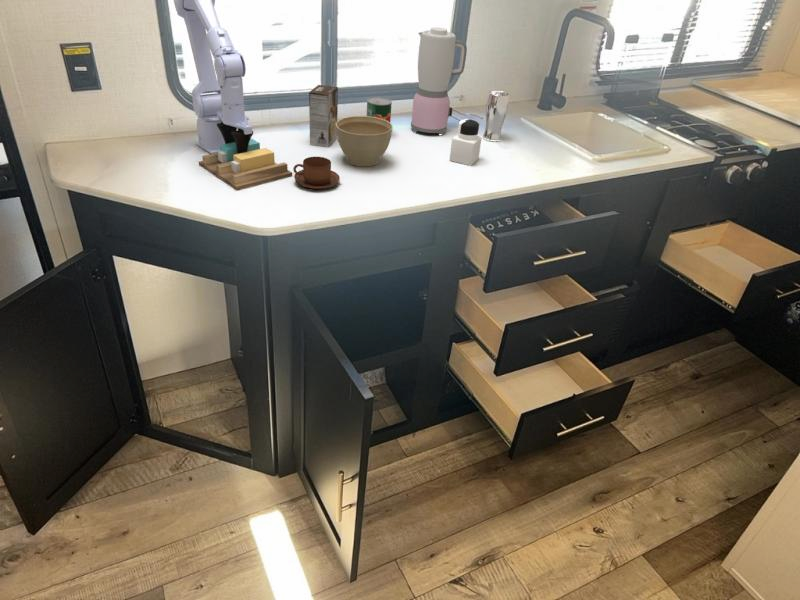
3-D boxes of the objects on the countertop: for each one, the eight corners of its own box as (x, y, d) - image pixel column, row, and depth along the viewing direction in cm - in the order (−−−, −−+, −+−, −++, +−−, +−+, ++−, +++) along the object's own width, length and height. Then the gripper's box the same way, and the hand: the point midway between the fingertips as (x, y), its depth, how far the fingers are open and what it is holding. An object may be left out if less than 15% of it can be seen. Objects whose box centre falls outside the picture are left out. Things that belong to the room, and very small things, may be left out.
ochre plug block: (230, 173, 160) (229, 155, 157) (266, 165, 167) (265, 147, 164) (238, 178, 158) (237, 160, 155) (274, 169, 164) (274, 152, 162)
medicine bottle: (478, 159, 186) (484, 120, 179) (471, 166, 180) (476, 126, 174) (457, 153, 188) (462, 115, 181) (448, 161, 183) (453, 121, 176)
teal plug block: (217, 163, 165) (215, 146, 162) (252, 155, 172) (251, 138, 169) (224, 168, 163) (223, 150, 160) (260, 160, 169) (259, 142, 167)
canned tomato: (375, 128, 202) (377, 95, 196) (394, 134, 198) (396, 101, 192) (360, 134, 196) (362, 100, 190) (379, 140, 193) (381, 106, 186)
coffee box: (318, 135, 192) (318, 83, 183) (337, 138, 192) (338, 86, 183) (309, 144, 185) (308, 91, 176) (329, 147, 184) (329, 94, 175)
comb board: (199, 164, 166) (197, 154, 164) (252, 153, 176) (252, 143, 174) (237, 190, 154) (236, 179, 153) (292, 175, 164) (292, 165, 163)
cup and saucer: (302, 195, 155) (301, 172, 152) (289, 176, 164) (288, 155, 161) (345, 190, 160) (346, 168, 157) (330, 172, 169) (331, 151, 165)
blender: (410, 135, 199) (419, 31, 181) (409, 123, 209) (418, 23, 191) (457, 138, 200) (471, 35, 182) (455, 126, 210) (467, 27, 192)
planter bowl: (352, 147, 186) (353, 112, 180) (399, 159, 181) (402, 123, 175) (324, 163, 174) (325, 126, 168) (374, 176, 169) (376, 138, 162)
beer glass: (505, 138, 203) (513, 93, 195) (496, 143, 198) (504, 97, 190) (486, 133, 206) (494, 88, 198) (477, 138, 201) (484, 93, 193)
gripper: (261, 107, 156) (263, 157, 163) (232, 93, 164) (235, 141, 172) (236, 111, 152) (240, 163, 159) (208, 96, 160) (213, 146, 168)
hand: (236, 152), depth 165 cm, fingers open, 5 cm apart
